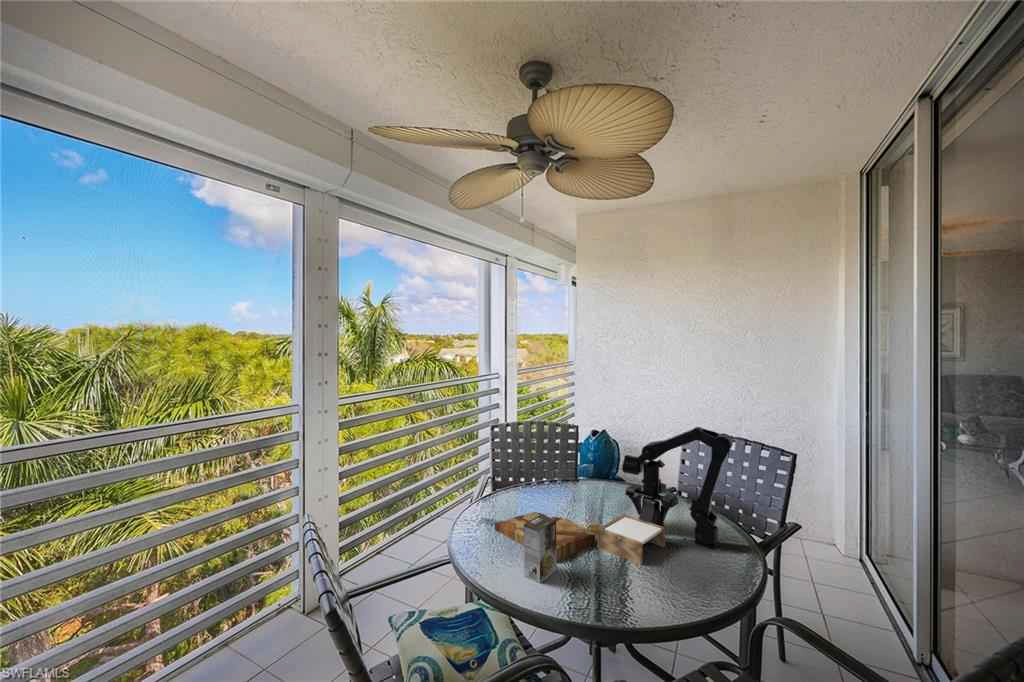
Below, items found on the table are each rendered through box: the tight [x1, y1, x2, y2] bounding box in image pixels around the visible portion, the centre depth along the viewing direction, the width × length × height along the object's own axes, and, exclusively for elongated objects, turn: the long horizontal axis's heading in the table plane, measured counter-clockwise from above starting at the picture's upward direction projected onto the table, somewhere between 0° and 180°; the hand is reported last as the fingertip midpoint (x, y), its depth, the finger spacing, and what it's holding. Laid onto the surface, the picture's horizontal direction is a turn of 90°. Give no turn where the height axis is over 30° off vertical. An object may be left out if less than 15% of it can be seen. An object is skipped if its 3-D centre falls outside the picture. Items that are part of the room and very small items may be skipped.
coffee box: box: [523, 515, 558, 584], centre depth 134 cm, size 9×6×16 cm
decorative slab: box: [494, 511, 596, 562], centre depth 159 cm, size 32×22×5 cm
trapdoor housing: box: [596, 514, 666, 566], centre depth 151 cm, size 16×18×6 cm
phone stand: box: [638, 496, 666, 532], centre depth 164 cm, size 9×6×12 cm, turn 117°
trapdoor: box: [604, 517, 662, 546], centre depth 150 cm, size 14×14×3 cm
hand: (651, 518), depth 164 cm, fingers open, 9 cm apart
